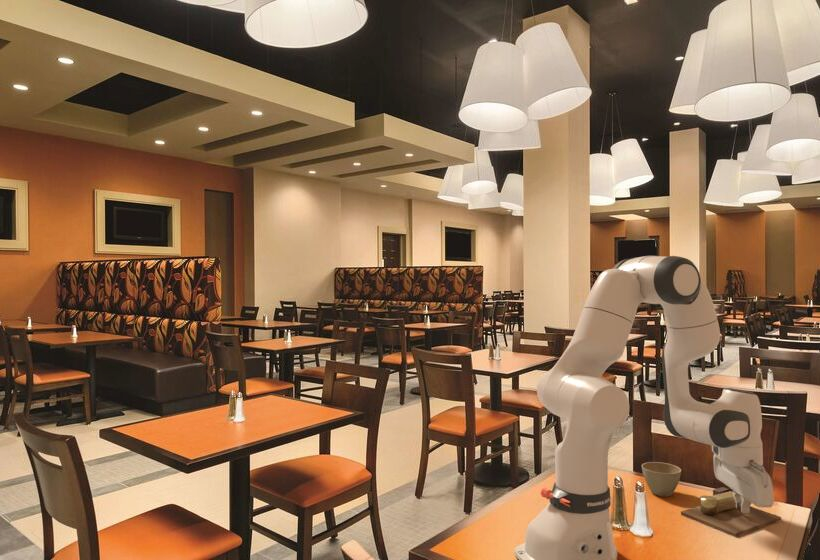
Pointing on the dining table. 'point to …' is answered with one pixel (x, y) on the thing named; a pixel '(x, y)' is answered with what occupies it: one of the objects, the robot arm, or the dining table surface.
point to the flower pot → (661, 477)
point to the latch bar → (717, 503)
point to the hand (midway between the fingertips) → (742, 511)
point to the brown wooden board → (733, 519)
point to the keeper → (721, 490)
